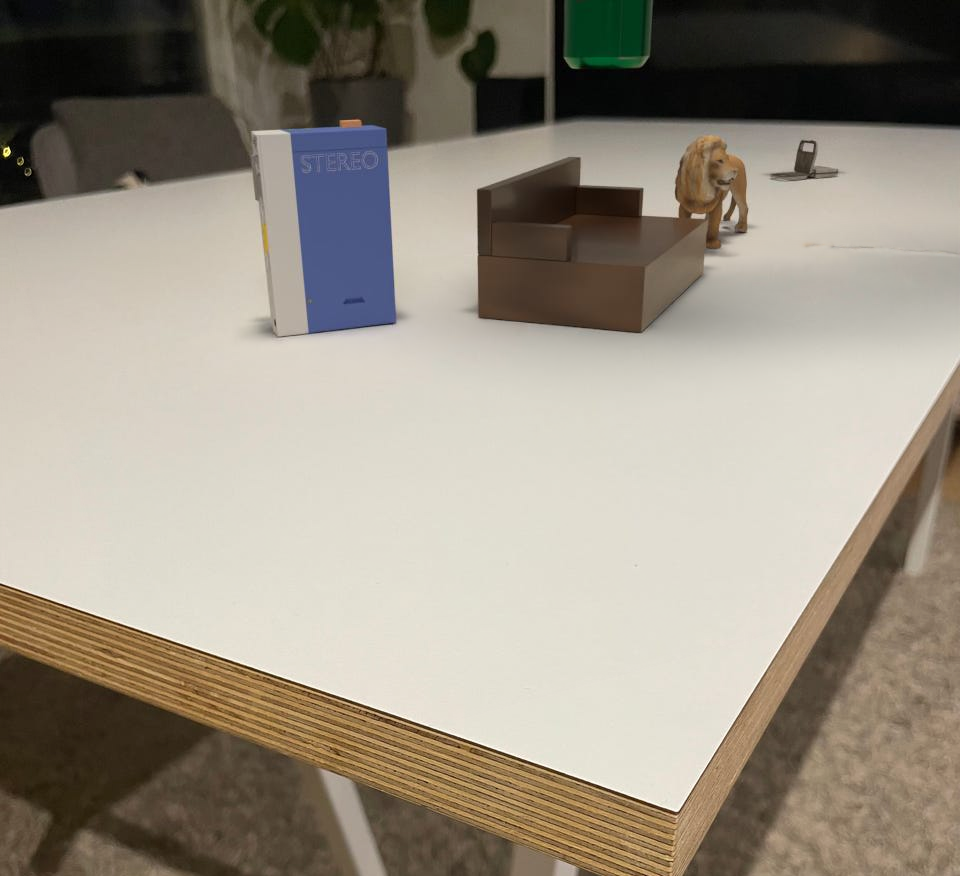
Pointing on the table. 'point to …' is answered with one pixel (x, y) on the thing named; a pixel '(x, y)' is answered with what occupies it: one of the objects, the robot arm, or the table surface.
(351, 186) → the walkman
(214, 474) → the table surface
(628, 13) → the soda can
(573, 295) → the brown toy sofa
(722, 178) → the lion figurine
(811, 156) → the strap clip
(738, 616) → the table surface
